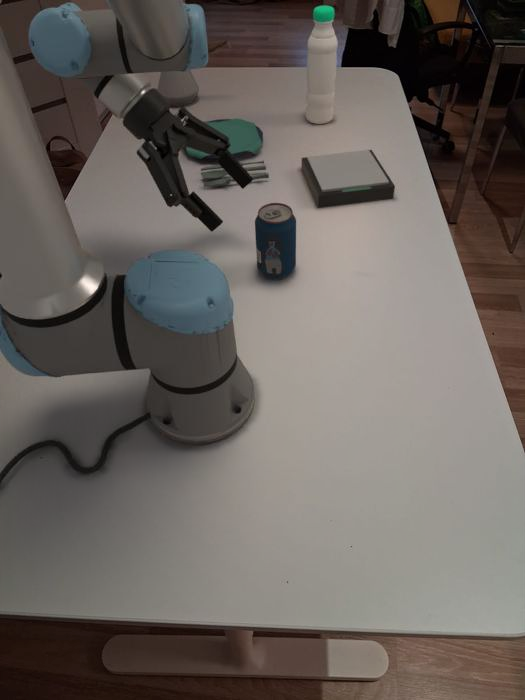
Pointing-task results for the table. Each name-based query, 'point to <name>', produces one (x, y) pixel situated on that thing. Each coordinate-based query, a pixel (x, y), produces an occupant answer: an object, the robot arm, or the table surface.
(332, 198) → the scale
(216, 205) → the table surface
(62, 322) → the robot arm
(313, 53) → the water bottle
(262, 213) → the soda can
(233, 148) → the cutlery set
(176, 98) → the coffee pot
